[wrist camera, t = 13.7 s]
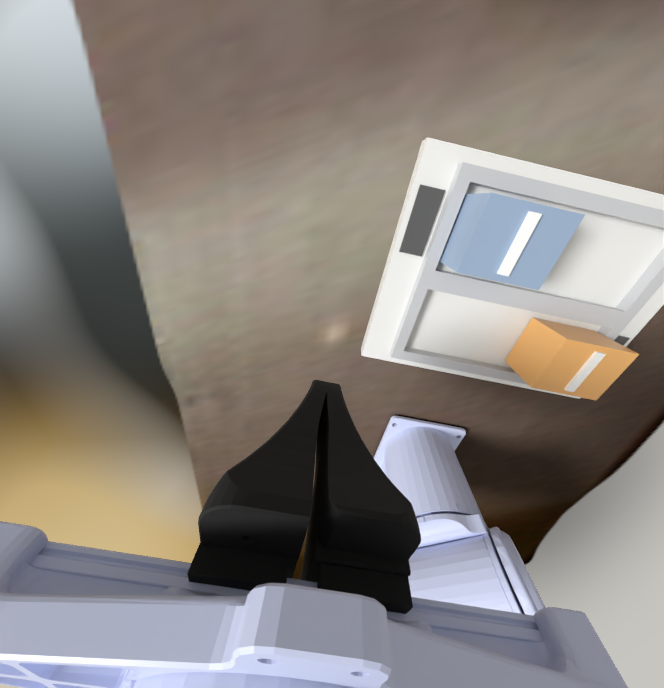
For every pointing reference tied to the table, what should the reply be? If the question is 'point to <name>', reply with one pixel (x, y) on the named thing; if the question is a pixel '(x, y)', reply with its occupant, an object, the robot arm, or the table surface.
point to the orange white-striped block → (568, 359)
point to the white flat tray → (502, 298)
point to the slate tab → (508, 239)
